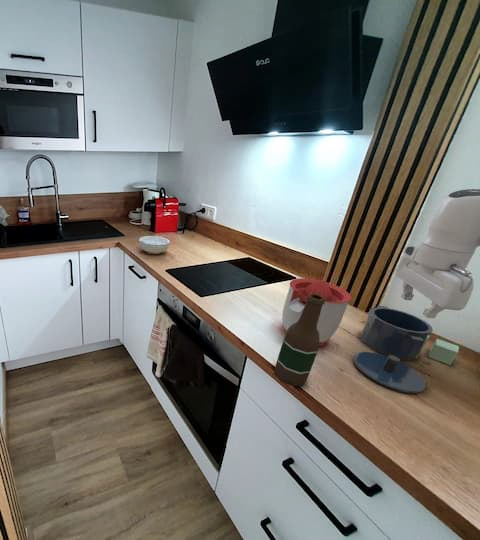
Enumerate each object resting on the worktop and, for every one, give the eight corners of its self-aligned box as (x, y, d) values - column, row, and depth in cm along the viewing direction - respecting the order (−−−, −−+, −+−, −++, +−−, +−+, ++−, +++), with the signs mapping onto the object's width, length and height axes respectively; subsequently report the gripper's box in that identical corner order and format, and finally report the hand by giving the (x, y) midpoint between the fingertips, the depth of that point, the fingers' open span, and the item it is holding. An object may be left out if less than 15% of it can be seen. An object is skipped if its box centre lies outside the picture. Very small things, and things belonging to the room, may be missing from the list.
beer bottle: (311, 379, 74) (343, 299, 65) (296, 392, 70) (328, 308, 61) (282, 362, 80) (307, 286, 70) (266, 373, 76) (291, 293, 66)
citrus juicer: (261, 329, 95) (277, 274, 87) (296, 318, 101) (313, 266, 93) (306, 358, 82) (329, 297, 74) (343, 344, 88) (367, 286, 80)
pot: (396, 332, 95) (408, 307, 92) (435, 371, 79) (452, 343, 75) (349, 324, 99) (359, 300, 95) (377, 360, 82) (390, 332, 78)
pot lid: (403, 361, 82) (411, 346, 80) (438, 401, 69) (448, 385, 67) (344, 350, 86) (350, 336, 83) (367, 386, 73) (375, 370, 71)
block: (429, 350, 87) (436, 338, 85) (451, 358, 84) (458, 346, 82) (428, 356, 84) (435, 344, 82) (450, 365, 81) (458, 352, 79)
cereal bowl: (174, 251, 162) (175, 240, 160) (157, 259, 151) (158, 246, 148) (150, 245, 173) (150, 233, 170) (132, 251, 161) (133, 239, 158)
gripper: (495, 276, 59) (462, 332, 65) (429, 247, 77) (408, 292, 83) (456, 272, 61) (427, 326, 66) (401, 244, 79) (382, 288, 84)
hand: (416, 307), depth 75 cm, fingers open, 8 cm apart
